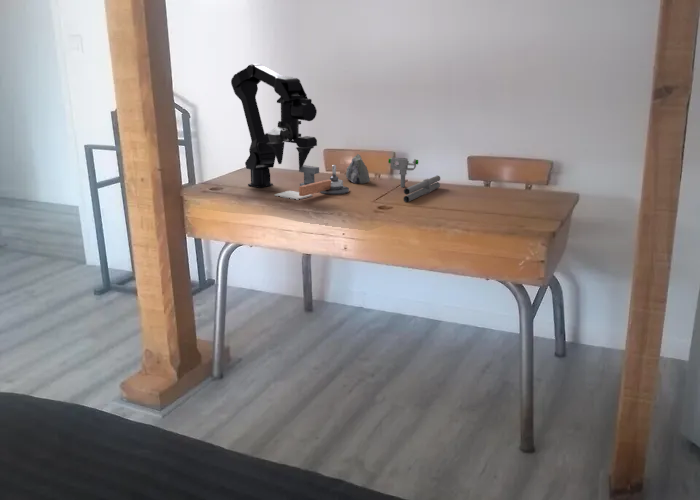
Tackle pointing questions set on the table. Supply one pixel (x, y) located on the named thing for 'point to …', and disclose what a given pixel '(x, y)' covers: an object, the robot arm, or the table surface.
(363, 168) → the mineral rock
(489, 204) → the table surface
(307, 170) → the grey stepped block
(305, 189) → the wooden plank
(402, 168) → the mechanical component
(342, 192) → the chuck base
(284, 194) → the mat
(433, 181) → the metal rod assembly
